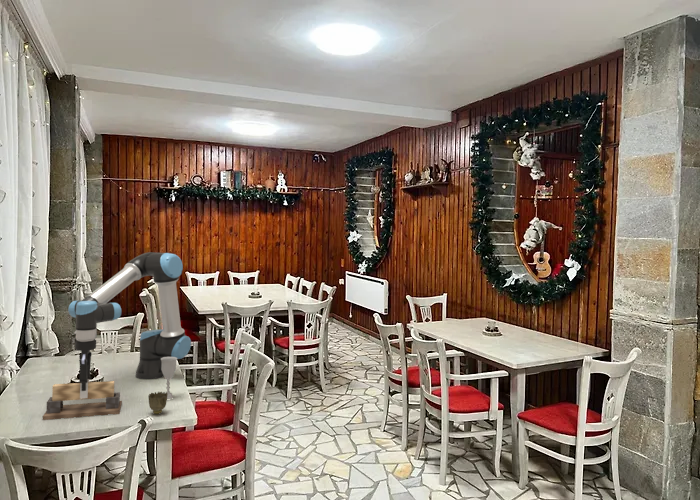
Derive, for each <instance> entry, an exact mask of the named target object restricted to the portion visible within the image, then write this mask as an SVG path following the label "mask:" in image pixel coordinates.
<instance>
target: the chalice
mask: <svg viewBox="0 0 700 500" xmlns="http://www.w3.org/2000/svg"><path fill="white" fill-rule="evenodd" d="M177 360H178V359H177V358H176V357H163V358H161V361H162V367H161V370H162V373H163V375H164V379H165V380H166V387H165V388H166V392H167V394H168V395H167V399H172V398H173V397H174V395H173V393H172V392H170V389H171V387H170V385H171V383H170V382H171V381H170V380H172V379H173V377H174V375H175V374H176V369H177ZM172 400H173V399H172Z"/></svg>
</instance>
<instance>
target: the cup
mask: <svg viewBox="0 0 700 500" xmlns="http://www.w3.org/2000/svg"><path fill="white" fill-rule="evenodd" d="M167 395H168V394H167V391H158V392H156V391H155V392H154V393H153V392H151V393H149V394H148V405H149V408H150V410H151V411H152V413H154V414H153V415H160V414H159V413H161V414H163V410H164V409H165V408H166V406H167V402H168V400H167Z"/></svg>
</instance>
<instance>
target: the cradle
mask: <svg viewBox="0 0 700 500" xmlns="http://www.w3.org/2000/svg"><path fill="white" fill-rule="evenodd" d="M120 398H121V392H120V391H119V392H114V397H106V398H105V401H101V402H100V401H99V402H87V403H74V404H73V403H72V404H71V403H70V404H64V401H61V400H60V401H52V396H50V397H49V399H47V401H46V411H45V412H44V414H43V415H42V421H47V420H48V421H49V420H61V418H64V419H73V418H74V417H76V418H83V417H82V416H88V417H95V416H94V415H101V416H109V415H108V414H113V415H120V413H121V409H122V405H123V401H122V400H121V399H120Z"/></svg>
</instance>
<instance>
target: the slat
mask: <svg viewBox="0 0 700 500" xmlns="http://www.w3.org/2000/svg"><path fill="white" fill-rule="evenodd" d="M51 392H52V394H51V397H52V401H60V400H61V401H63V402H65V401H79V400H81V401H82V400H97V399H106V397H114V393H115V380H112V381H111V380H110V381H89V382H88V398H85V399H80V383H78V382H75V383H74V382H73V383H70V382H69V383H55V384H53V385H52V391H51Z"/></svg>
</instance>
